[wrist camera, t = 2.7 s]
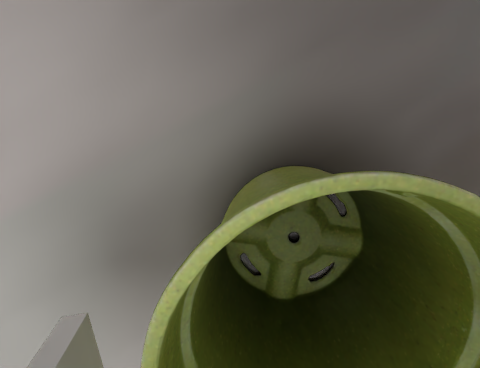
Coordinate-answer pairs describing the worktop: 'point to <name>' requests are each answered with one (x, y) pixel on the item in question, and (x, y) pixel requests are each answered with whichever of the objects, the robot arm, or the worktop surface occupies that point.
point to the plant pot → (329, 278)
